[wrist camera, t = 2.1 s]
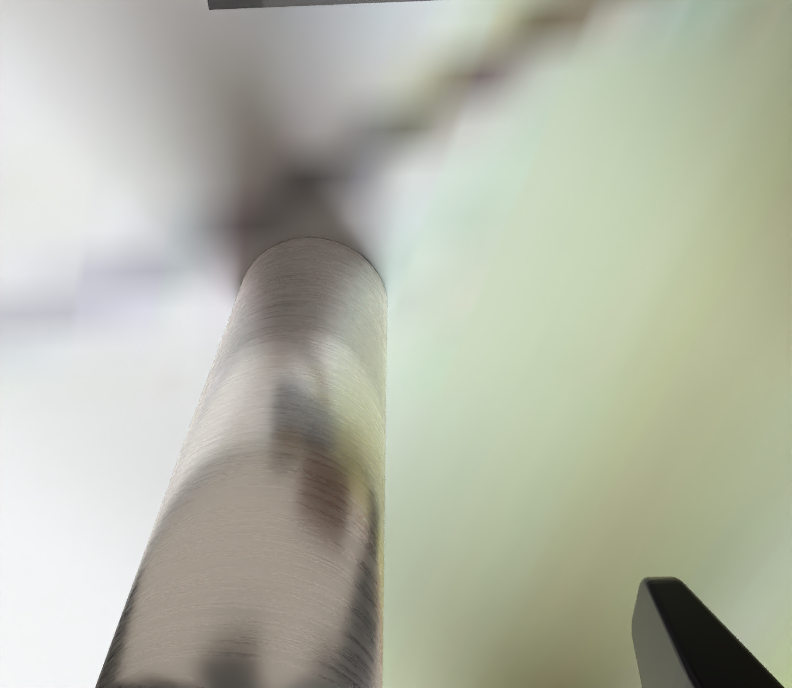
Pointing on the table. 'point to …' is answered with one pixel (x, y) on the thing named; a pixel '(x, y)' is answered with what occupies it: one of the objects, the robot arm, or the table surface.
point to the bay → (286, 3)
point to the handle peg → (274, 495)
